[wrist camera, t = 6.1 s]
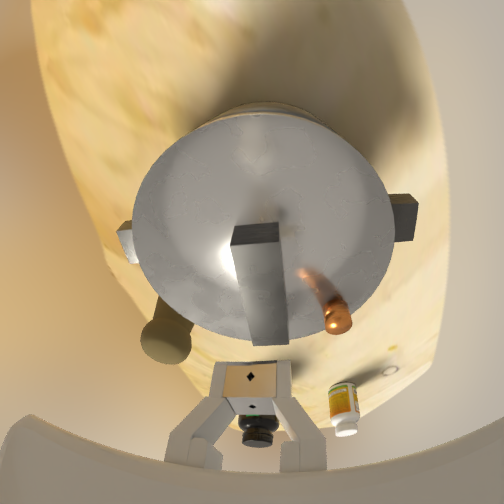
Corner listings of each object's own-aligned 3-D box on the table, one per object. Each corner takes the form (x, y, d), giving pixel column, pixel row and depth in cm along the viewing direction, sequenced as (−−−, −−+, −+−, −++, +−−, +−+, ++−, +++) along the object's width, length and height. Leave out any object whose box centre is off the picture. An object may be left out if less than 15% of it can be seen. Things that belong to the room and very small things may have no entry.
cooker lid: (111, 143, 14) (78, 161, 11) (390, 105, 12) (420, 115, 9) (181, 328, 23) (171, 361, 20) (371, 317, 21) (381, 352, 18)
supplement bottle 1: (246, 372, 44) (240, 436, 34) (285, 378, 45) (284, 441, 35) (239, 389, 48) (232, 446, 38) (274, 394, 48) (271, 450, 38)
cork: (220, 279, 33) (202, 356, 24) (197, 307, 36) (178, 378, 27) (175, 253, 31) (141, 326, 22) (157, 285, 34) (126, 353, 25)
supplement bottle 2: (322, 393, 47) (325, 437, 39) (337, 380, 44) (342, 428, 36) (345, 395, 48) (350, 437, 40) (360, 382, 45) (367, 428, 37)
